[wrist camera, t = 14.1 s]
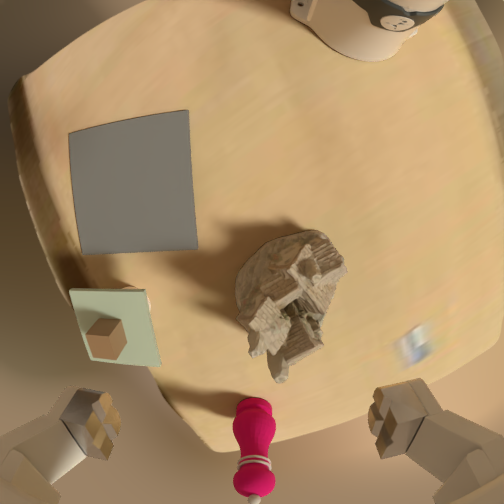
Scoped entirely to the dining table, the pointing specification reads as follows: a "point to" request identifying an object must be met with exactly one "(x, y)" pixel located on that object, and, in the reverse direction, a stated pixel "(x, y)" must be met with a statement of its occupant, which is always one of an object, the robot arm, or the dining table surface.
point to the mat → (134, 185)
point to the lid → (116, 325)
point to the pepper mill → (254, 448)
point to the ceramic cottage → (287, 297)
